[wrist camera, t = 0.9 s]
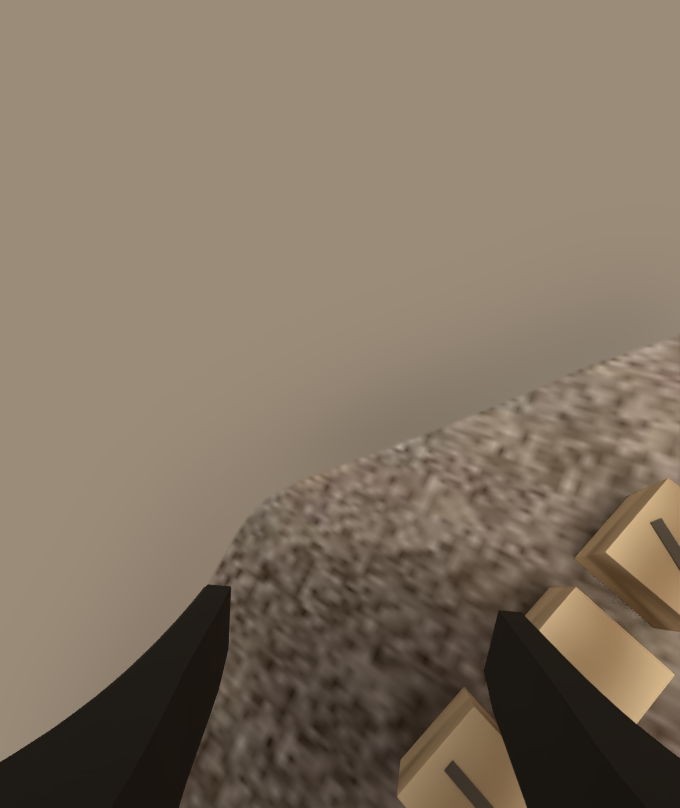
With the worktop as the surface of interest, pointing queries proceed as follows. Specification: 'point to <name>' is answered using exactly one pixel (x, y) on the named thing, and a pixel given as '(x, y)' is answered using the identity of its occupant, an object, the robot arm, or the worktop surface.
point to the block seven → (642, 554)
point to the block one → (459, 762)
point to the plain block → (600, 649)
